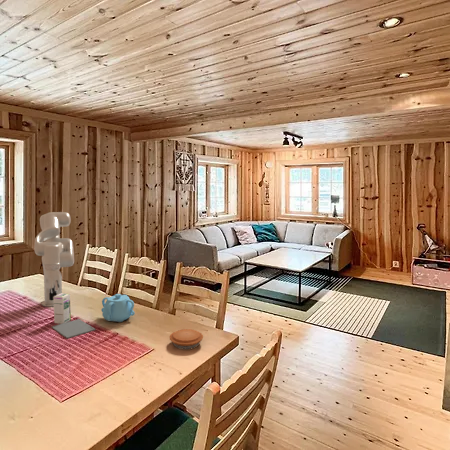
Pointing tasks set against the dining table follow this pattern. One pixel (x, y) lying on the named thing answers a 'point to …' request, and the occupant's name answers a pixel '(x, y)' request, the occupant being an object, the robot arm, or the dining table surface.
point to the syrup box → (62, 308)
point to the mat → (73, 328)
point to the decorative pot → (117, 308)
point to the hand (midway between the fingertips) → (53, 299)
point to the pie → (186, 338)
